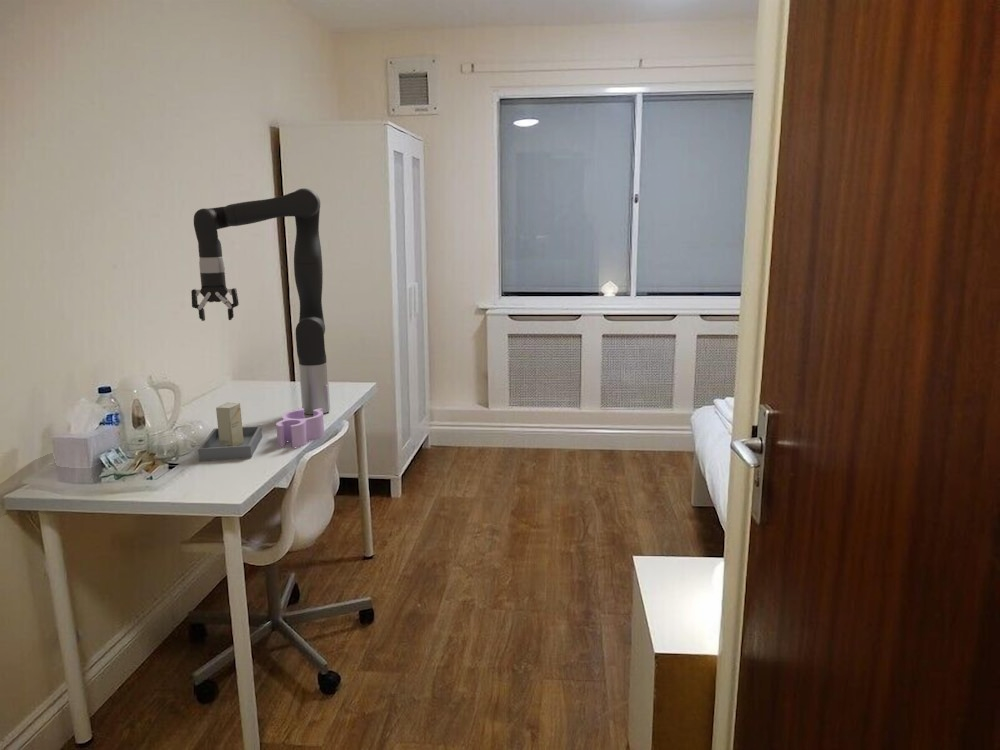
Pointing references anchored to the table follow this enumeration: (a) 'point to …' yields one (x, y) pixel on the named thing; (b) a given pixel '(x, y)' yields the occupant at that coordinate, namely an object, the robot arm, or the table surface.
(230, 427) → the skincare box
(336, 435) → the table surface
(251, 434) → the tray
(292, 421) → the clip
